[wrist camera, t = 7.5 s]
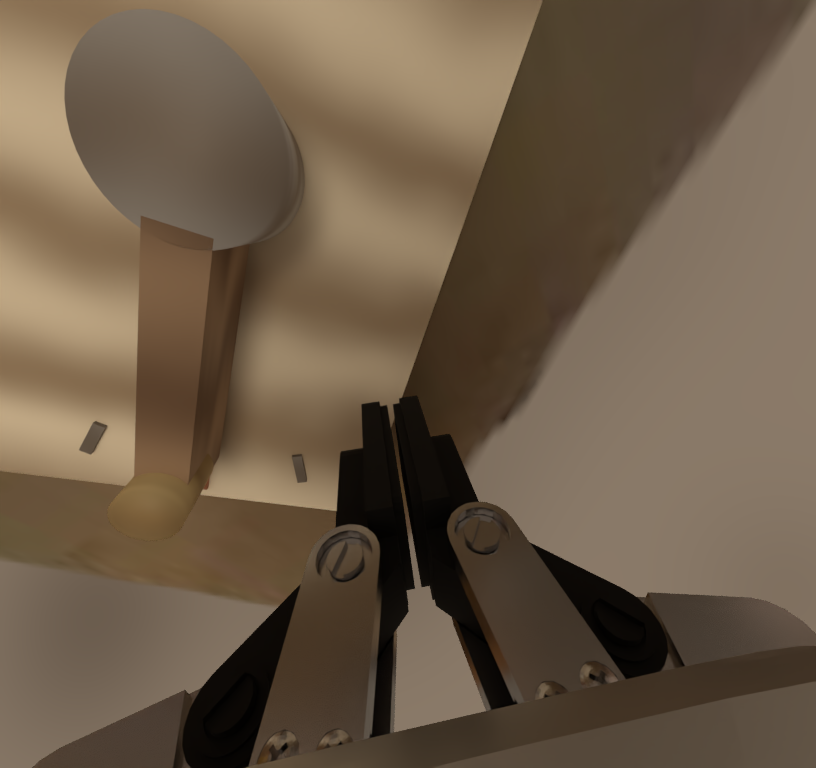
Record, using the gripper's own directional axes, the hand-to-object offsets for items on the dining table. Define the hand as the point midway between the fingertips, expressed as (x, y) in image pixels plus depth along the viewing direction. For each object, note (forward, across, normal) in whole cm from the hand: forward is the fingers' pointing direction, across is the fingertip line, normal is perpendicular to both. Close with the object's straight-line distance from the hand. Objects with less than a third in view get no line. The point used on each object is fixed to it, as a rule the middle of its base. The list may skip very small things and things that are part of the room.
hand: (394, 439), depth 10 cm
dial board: (+10, +6, -5) cm, 12 cm away
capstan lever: (+7, +7, -2) cm, 10 cm away
